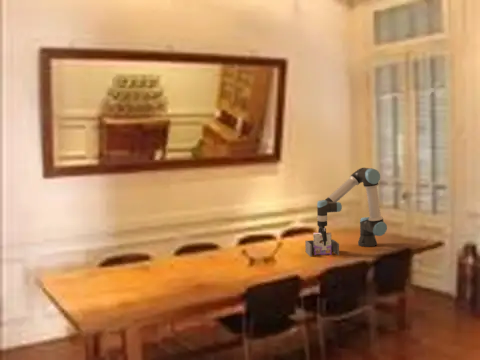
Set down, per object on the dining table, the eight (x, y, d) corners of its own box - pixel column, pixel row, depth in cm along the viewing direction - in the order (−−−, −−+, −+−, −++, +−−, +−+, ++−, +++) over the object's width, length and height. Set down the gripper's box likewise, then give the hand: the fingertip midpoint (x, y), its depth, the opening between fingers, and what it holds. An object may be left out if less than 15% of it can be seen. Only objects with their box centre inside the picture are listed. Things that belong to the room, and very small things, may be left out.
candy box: (331, 253, 476) (331, 232, 475) (331, 255, 470) (331, 233, 469) (313, 253, 478) (313, 232, 476) (313, 255, 472) (313, 233, 470)
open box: (333, 250, 485) (333, 239, 484) (339, 255, 468) (339, 243, 467) (305, 251, 483) (305, 240, 482) (310, 256, 466) (310, 245, 465)
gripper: (313, 218, 483) (314, 244, 485) (321, 223, 459) (321, 251, 461) (323, 218, 484) (323, 244, 486) (331, 223, 459) (331, 251, 461)
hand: (322, 248), depth 473 cm, fingers open, 13 cm apart
